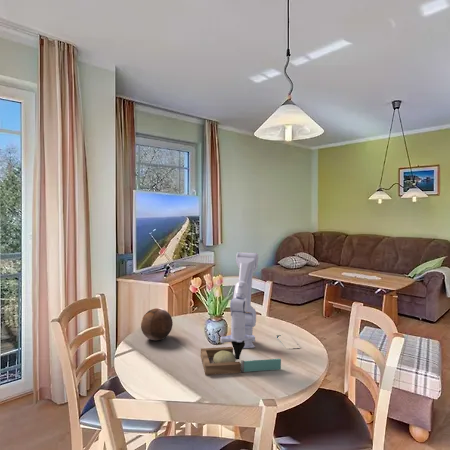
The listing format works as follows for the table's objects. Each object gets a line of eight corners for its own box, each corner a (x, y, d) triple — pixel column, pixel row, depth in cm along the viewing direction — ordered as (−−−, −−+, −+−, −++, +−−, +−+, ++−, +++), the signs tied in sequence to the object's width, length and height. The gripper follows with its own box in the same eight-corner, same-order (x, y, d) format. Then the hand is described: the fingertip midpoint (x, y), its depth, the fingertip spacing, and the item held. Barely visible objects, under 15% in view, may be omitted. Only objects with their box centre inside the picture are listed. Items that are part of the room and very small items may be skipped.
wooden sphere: (177, 335, 166) (177, 306, 165) (164, 347, 151) (164, 315, 150) (149, 331, 169) (150, 303, 169) (134, 343, 155) (135, 312, 154)
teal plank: (241, 372, 130) (241, 362, 130) (240, 370, 131) (240, 360, 131) (280, 369, 133) (281, 359, 133) (279, 367, 134) (280, 357, 134)
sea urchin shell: (221, 351, 144) (231, 342, 140) (230, 368, 141) (242, 359, 137) (207, 358, 137) (218, 349, 133) (217, 376, 134) (228, 367, 130)
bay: (200, 356, 143) (200, 348, 143) (232, 354, 146) (232, 346, 146) (205, 375, 128) (205, 366, 127) (240, 372, 130) (240, 363, 130)
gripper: (222, 331, 132) (221, 363, 133) (257, 329, 135) (256, 361, 136) (219, 324, 139) (218, 356, 140) (252, 323, 142) (251, 353, 143)
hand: (237, 358), depth 138 cm, fingers closed
